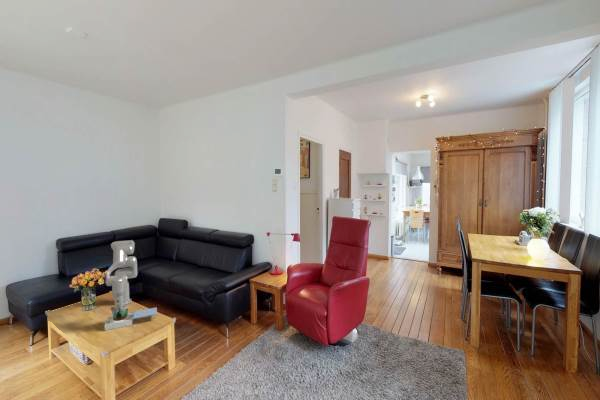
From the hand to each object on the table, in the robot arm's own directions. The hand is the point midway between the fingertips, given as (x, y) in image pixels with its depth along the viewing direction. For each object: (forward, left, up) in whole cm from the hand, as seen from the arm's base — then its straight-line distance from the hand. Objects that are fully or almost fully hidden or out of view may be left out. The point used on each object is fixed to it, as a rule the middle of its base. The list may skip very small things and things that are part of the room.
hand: (119, 316), depth 213 cm
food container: (+1, 0, -2) cm, 3 cm away
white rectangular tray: (0, 0, -6) cm, 6 cm away
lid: (0, +17, -2) cm, 17 cm away
